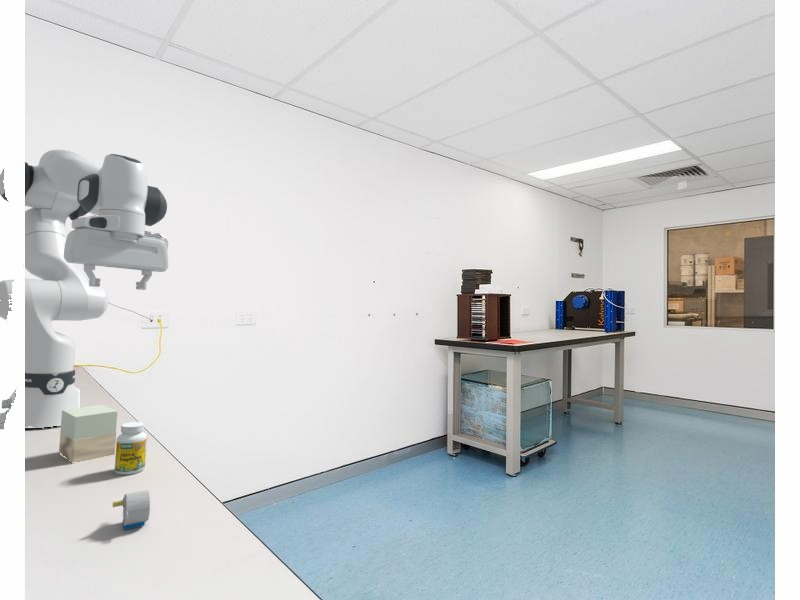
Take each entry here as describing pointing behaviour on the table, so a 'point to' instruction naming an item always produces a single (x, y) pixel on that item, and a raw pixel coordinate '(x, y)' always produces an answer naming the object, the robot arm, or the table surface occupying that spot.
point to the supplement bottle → (130, 449)
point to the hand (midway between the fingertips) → (118, 288)
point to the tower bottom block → (87, 447)
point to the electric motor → (135, 509)
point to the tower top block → (88, 422)
